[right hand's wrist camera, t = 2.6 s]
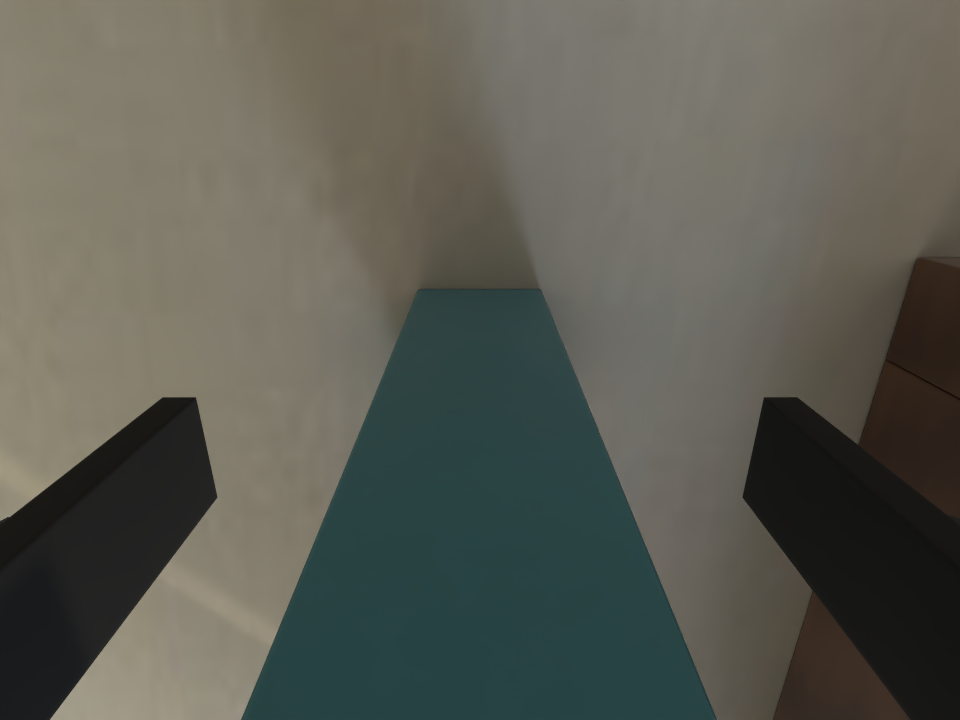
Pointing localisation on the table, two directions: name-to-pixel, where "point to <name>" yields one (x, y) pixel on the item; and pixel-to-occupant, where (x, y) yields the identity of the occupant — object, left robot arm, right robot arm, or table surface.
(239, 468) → the table surface
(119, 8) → the table surface
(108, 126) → the table surface
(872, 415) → the hole block
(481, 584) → the peg
